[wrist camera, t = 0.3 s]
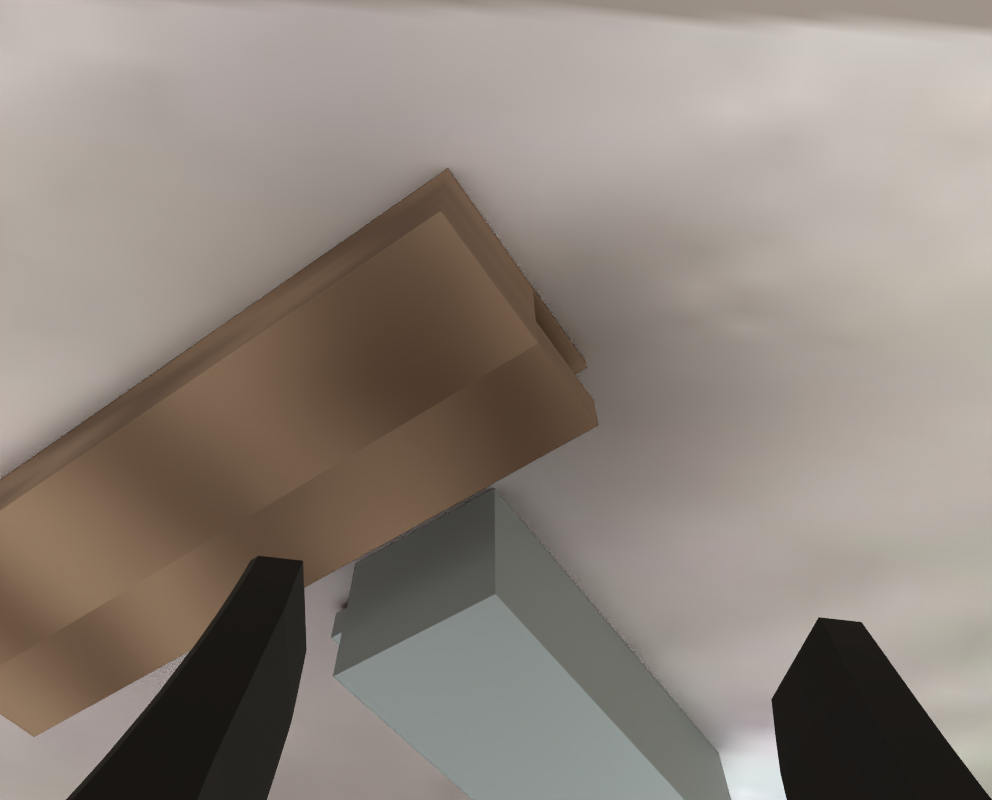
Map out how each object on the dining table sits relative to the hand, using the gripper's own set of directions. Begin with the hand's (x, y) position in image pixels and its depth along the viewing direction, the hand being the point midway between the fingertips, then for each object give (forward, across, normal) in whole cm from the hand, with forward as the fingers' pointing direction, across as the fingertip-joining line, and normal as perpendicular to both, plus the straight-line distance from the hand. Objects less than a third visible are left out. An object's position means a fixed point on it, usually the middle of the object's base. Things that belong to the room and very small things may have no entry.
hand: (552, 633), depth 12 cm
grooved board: (+10, +8, +6) cm, 14 cm away
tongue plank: (+9, -2, +14) cm, 17 cm away
